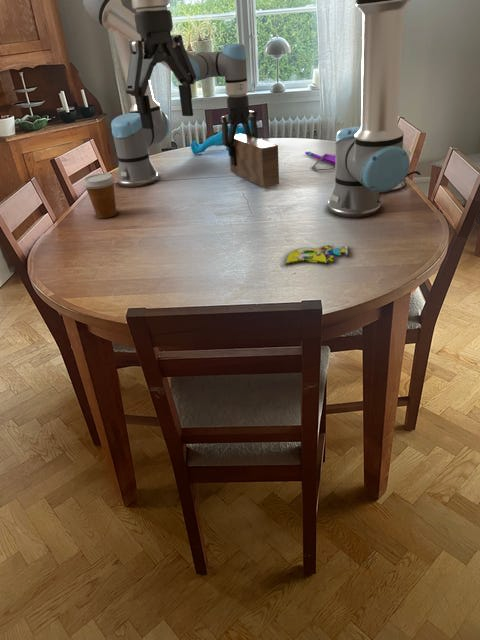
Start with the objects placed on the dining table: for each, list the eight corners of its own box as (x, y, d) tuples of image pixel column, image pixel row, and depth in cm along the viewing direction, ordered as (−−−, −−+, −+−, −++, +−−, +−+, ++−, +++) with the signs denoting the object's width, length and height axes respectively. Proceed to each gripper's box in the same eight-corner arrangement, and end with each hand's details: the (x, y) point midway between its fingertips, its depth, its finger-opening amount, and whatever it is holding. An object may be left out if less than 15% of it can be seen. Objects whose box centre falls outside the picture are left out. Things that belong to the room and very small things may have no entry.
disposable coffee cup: (85, 218, 153) (75, 181, 146) (103, 208, 160) (94, 172, 154) (110, 221, 150) (101, 182, 143) (127, 210, 157) (119, 173, 150)
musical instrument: (342, 175, 173) (362, 153, 185) (341, 169, 172) (361, 148, 184) (283, 174, 186) (305, 153, 198) (282, 169, 184) (305, 148, 196)
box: (230, 171, 182) (227, 136, 175) (245, 168, 184) (242, 133, 177) (263, 188, 162) (261, 148, 155) (279, 184, 164) (278, 145, 157)
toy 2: (349, 261, 112) (285, 261, 114) (349, 264, 113) (285, 265, 115) (347, 243, 120) (287, 244, 123) (346, 246, 121) (287, 247, 123)
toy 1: (195, 134, 218) (257, 114, 208) (203, 157, 223) (264, 139, 213) (184, 143, 204) (250, 123, 194) (193, 168, 209) (257, 149, 199)
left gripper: (216, 100, 159) (223, 170, 172) (266, 92, 166) (269, 160, 178) (207, 98, 165) (214, 166, 177) (256, 90, 171) (259, 156, 184)
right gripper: (120, 12, 86) (142, 135, 98) (204, 5, 103) (214, 111, 115) (92, 15, 90) (116, 133, 102) (177, 8, 107) (190, 110, 118)
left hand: (242, 163), depth 178 cm, fingers closed on box, 6 cm apart
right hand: (168, 121), depth 108 cm, fingers open, 13 cm apart
